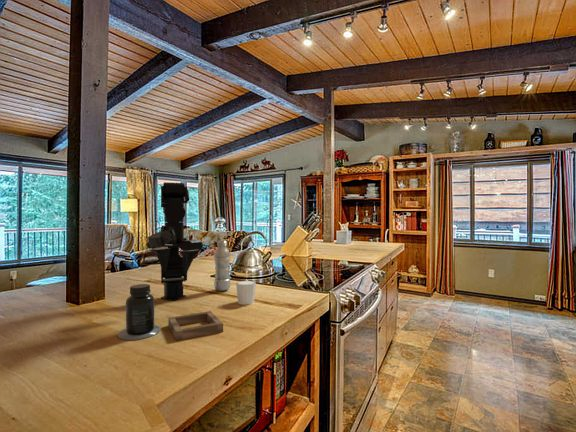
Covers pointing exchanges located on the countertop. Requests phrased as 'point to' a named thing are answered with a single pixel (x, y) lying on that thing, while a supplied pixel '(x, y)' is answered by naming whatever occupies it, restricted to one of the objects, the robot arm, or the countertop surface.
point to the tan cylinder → (246, 292)
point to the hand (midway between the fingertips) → (174, 271)
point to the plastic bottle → (222, 267)
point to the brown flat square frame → (195, 331)
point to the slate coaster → (125, 336)
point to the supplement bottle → (139, 310)
